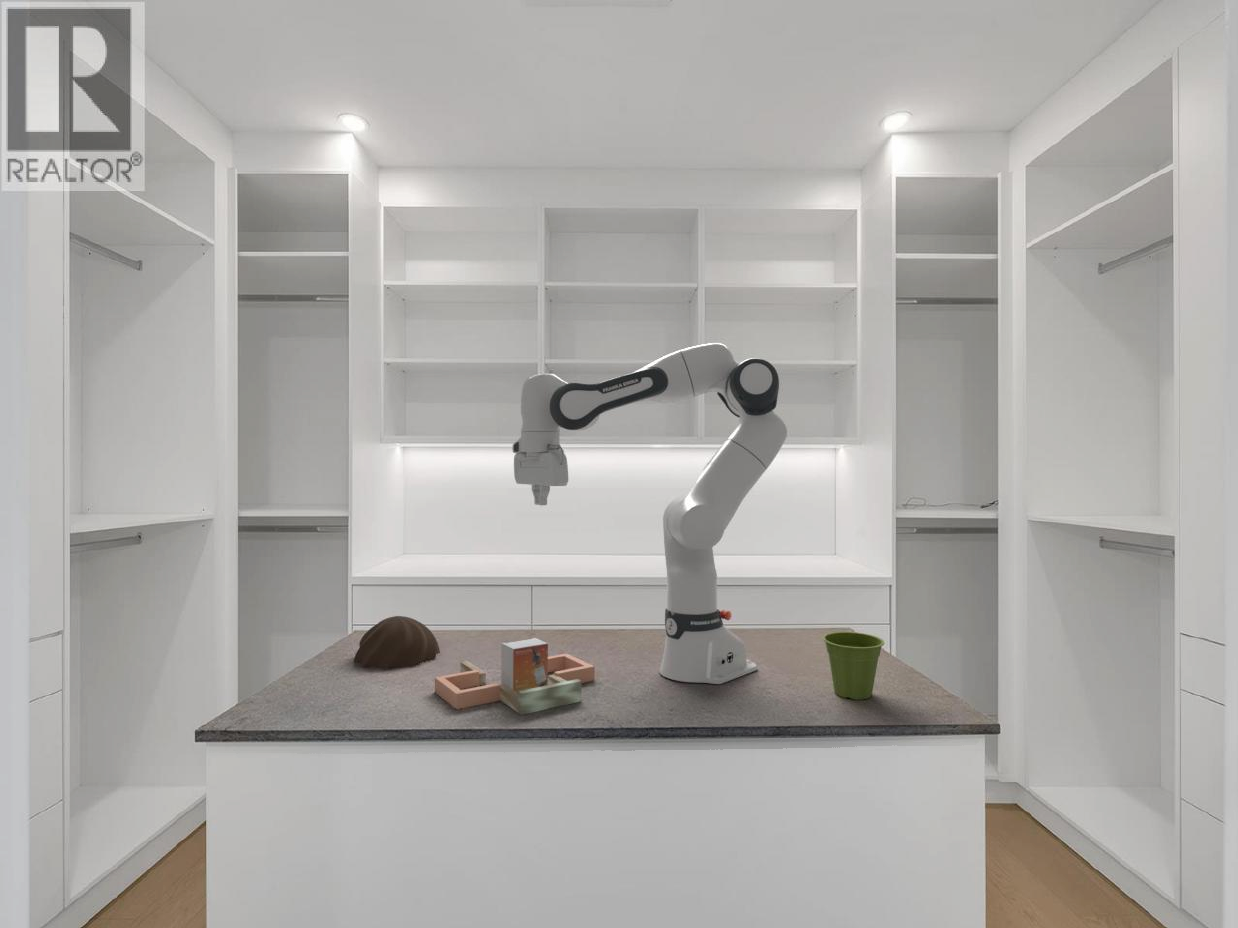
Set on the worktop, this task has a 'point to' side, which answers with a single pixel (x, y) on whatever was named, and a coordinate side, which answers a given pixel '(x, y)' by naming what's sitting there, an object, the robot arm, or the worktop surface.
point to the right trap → (571, 668)
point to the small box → (524, 664)
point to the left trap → (465, 698)
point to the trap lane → (534, 692)
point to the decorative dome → (397, 644)
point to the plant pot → (853, 662)
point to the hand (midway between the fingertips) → (540, 505)
